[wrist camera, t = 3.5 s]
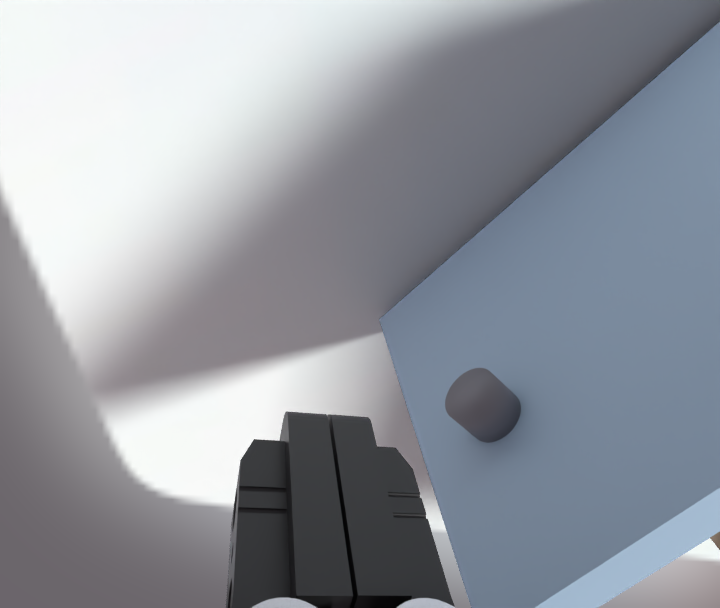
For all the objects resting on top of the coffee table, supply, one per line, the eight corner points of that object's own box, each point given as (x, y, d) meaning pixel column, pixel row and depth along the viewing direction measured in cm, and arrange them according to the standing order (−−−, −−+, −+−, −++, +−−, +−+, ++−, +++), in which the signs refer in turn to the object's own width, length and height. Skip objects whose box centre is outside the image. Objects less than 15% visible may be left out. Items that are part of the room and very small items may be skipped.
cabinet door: (835, -125, 18) (1822, -303, 7) (858, -58, 19) (1747, -113, 8) (359, 302, 23) (447, 621, 12) (398, 336, 24) (514, 660, 13)
